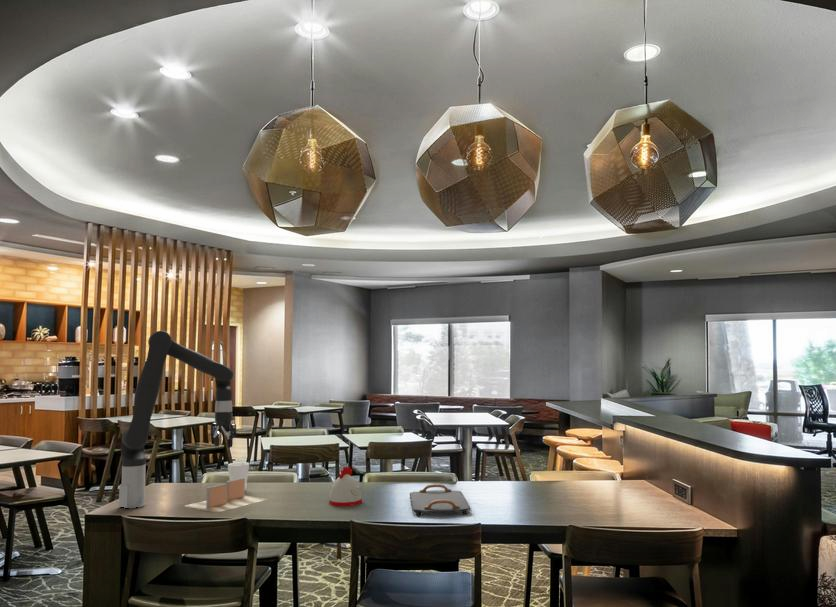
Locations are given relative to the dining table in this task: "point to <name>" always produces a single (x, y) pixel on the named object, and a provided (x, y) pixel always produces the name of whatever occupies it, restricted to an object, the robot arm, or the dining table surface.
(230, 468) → the foam cup
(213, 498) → the near tile
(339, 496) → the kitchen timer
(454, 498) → the serving board
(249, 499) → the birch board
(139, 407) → the robot arm
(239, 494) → the far tile
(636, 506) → the dining table surface
